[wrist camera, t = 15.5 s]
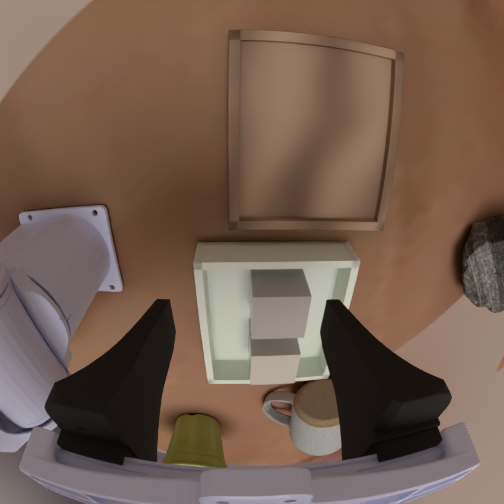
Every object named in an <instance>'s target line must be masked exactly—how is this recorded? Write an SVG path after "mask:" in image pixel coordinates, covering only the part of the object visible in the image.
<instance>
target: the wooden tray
mask: <svg viewBox="0 0 504 504" xmlns="http://www.w3.org/2000/svg"><path fill="white" fill-rule="evenodd" d="M403 71H404V53H402V52H398V51H395V50H391V49H387V48H383V47H379V46H375V45H370V44H366V43H361V42H356V41H351V40H345V39H339V38H333V37H326V36H319V35H311V34H302V33H292V32H279V31H259V30H229V100H228V157H229V230H370V231H383V229H384V224H385V219H386V214H387V209H388V204H389V198H390V193H391V187H392V181H393V174H394V168H395V161H396V153H397V145H398V137H399V128H400V117H401V106H402V91H403Z"/></svg>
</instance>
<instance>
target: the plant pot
mask: <svg viewBox="0 0 504 504" xmlns="http://www.w3.org/2000/svg"><path fill="white" fill-rule="evenodd" d="M163 463H167V464H175V465H185V466H197V467H213V468H227V465H226V463H225V459H224V453H223V446H222V440H221V433H220V425H219V424H218V422H217V420H216V419H214V418H212V417H209V416H206V415H202V414H196V415H188V414H185V415H182V416H180V417H178V418H177V420H176V424H175V427H174V431H173V434H172V437H171V441H170V444H169V448H168V451H167V454H166V457H165V458H164V459H163Z"/></svg>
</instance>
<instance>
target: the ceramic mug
mask: <svg viewBox="0 0 504 504" xmlns="http://www.w3.org/2000/svg"><path fill="white" fill-rule="evenodd" d="M272 401H280V402H285V403H290V404H292V409H291V416H288V415H285V414H283V413H281V412H279V411H277V410H275V409H274V408H273V407H272V406H271V402H272ZM263 411H264V413H265V414H266V415H267V416H268V417H269V418H270V419H272V420H273V421H275V422H278V423H279V424H282V425H285V426H288V427H289V428H290V429H289V434H290V437H291V440H292V442H293V443H294V445H295V446H296V447H297V448H298V449H299V450H301V451H303V452H304V453H308V454H310V455H317V456H321V455H327V454H330V453H333V452H335V451H337V450H338V449H340V448H341V435H340V424H339V416H338V409H337V402H336V396H335V391H334V387H333V383H332V380H331V379H317V380H313V381H310V382H308V383H306V384H305V385H303V386H302V387H301V388H300V389H299V390H298V392H297V393H296V394H294V393H291V392H286V391H275V392H271V393H270V394H268V395H267V396H266V399H265V401H264V403H263Z"/></svg>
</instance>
